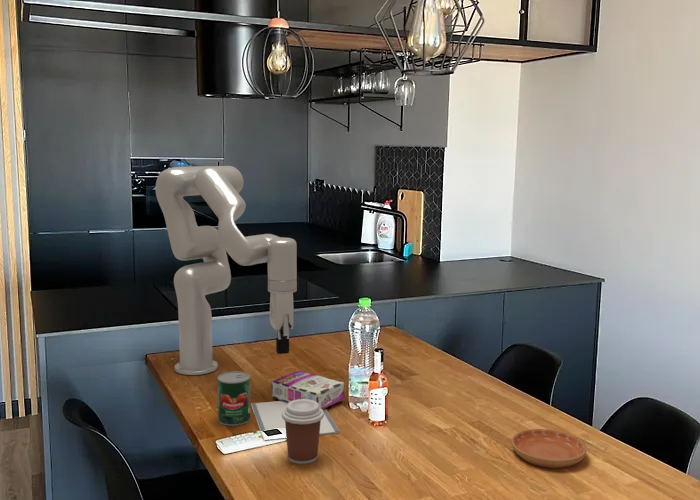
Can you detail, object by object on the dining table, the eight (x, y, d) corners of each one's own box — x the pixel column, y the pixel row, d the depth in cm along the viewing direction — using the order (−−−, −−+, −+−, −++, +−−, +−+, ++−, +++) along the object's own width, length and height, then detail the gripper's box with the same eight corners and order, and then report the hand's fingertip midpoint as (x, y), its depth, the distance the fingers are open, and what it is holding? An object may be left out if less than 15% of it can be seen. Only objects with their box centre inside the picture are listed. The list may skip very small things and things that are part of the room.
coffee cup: (332, 457, 149) (332, 405, 147) (300, 471, 143) (300, 417, 141) (305, 444, 156) (305, 393, 154) (273, 456, 150) (272, 404, 148)
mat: (250, 405, 178) (250, 403, 178) (318, 398, 183) (318, 397, 183) (263, 441, 157) (263, 438, 157) (339, 432, 162) (339, 430, 162)
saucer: (497, 456, 152) (498, 443, 151) (532, 434, 163) (533, 422, 163) (565, 480, 141) (566, 467, 141) (597, 455, 153) (598, 442, 152)
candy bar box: (271, 398, 182) (316, 412, 172) (270, 380, 181) (316, 393, 171) (300, 387, 191) (345, 399, 180) (299, 369, 190) (345, 381, 180)
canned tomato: (225, 428, 164) (225, 384, 162) (213, 417, 170) (212, 374, 168) (256, 421, 168) (255, 378, 166) (242, 410, 174) (242, 369, 173)
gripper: (263, 280, 185) (264, 345, 188) (272, 292, 171) (273, 362, 174) (290, 278, 187) (291, 343, 190) (302, 290, 173) (302, 360, 176)
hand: (282, 352), depth 182 cm, fingers closed
